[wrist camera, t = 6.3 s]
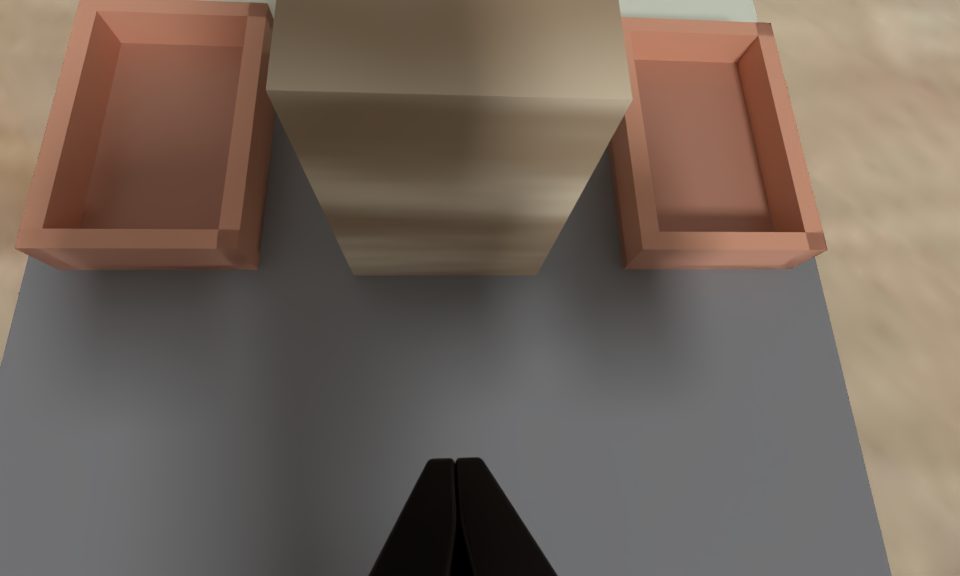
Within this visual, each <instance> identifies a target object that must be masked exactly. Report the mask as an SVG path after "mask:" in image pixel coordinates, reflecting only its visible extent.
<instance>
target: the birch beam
mask: <svg viewBox="0 0 960 576" xmlns="http://www.w3.org/2000/svg"><path fill="white" fill-rule="evenodd" d="M266 92H267V94H268V96H269V98H270V100H271V102H272V104H273V107H274V109H275V111H276V113H277V115H278V117H279V119H280V121H281V123H282V125H283V128H284V130H285V132H286V134H287V136H288V138H289V140H290V142H291V144H292V147H293V149H294V151H295V153H296V155H297V157H298V159H299V161H300V163H301V166H302V168H303V170H304V172H305V174H306V176H307V178H308V180H309V182H310V185H311V187H312V189H313V191H314V193H315V195H316V197H317V199H318V201H319V204H320V206H321V208H322V210H323V212H324V214H325V216H326V218H327V220H328V223H329V225H330V227H331V229H332V231H333V233H334V235H335V237H336V239H337V241H338V244H339V246H340V248H341V250H342V252H343V254H344V256H345V258H346V260H347V263H348V265H349V267H350V269H351V271H352V273H353V275H354V276H459V275H537V274H538V272H539V270H540V268H541V266H542V265H543V263H544V261H545V259H546V257H547V255H548V254H549V252H550V250H551V248H552V246H553V244H554V243H555V241H556V239H557V237H558V235H559V233H560V232H561V230H562V228H563V226H564V224H565V222H566V221H567V219H568V217H569V215H570V213H571V211H572V210H573V208H574V206H575V204H576V202H577V200H578V199H579V197H580V195H581V193H582V191H583V190H584V188H585V186H586V184H587V182H588V180H589V179H590V177H591V175H592V173H593V171H594V169H595V168H596V166H597V164H598V162H599V160H600V158H601V157H602V155H603V153H604V151H605V149H606V147H607V146H608V144H609V142H610V140H611V138H612V136H613V135H614V133H615V131H616V129H617V127H618V125H619V124H620V122H621V120H622V118H623V116H624V115H625V113H626V111H627V109H628V107H629V105H630V104H631V102H632V100H633V99H632V92H631V85H630V78H629V71H628V64H627V56H626V49H625V42H624V35H623V28H622V21H621V14H620V7H619V0H276V6H275V15H274V23H273V32H272V40H271V49H270V57H269V66H268V74H267V83H266Z"/></svg>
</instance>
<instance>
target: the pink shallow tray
mask: <svg viewBox="0 0 960 576" xmlns="http://www.w3.org/2000/svg"><path fill="white" fill-rule="evenodd" d="M621 21H622V28H623V35H624V42H625V49H626V56H627V64H628V71H629V78H630V85H631V92H632V99H633V100H632V102H631V104H630V105H629V107H628V109H627V111H626V113H625V115H624V116H623V118H622V120H621V122H620V124H619V125H618V127H617V129H616V131H615V133H614V135H613V136H612V138H611V140H610V142H609V144H608V147H609V156H610V164H611V173H612V181H613V189H614V198H615V206H616V214H617V223H618V231H619V239H620V248H621V256H622V264H623V269H792V268H794V267H796V266H798V265H800V264H802V263H804V262H805V261H807V260H809V259H811V258H813V257H815V256H817V255H819V254H821V253H822V252H824V251H826V250H827V246H826V242H825V238H824V234H823V230H822V226H821V222H820V218H819V214H818V210H817V206H816V202H815V198H814V194H813V190H812V186H811V182H810V178H809V174H808V170H807V166H806V162H805V158H804V154H803V150H802V146H801V142H800V138H799V134H798V130H797V126H796V122H795V118H794V114H793V110H792V106H791V102H790V98H789V94H788V90H787V86H786V82H785V78H784V74H783V70H782V66H781V62H780V58H779V54H778V50H777V46H776V42H775V38H774V34H773V30H772V26H771V23H759V22H734V21H709V20H683V19H658V18H633V17H621Z"/></svg>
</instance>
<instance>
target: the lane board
mask: <svg viewBox="0 0 960 576" xmlns="http://www.w3.org/2000/svg"><path fill="white" fill-rule="evenodd" d="M201 1H227V2H252V3H268V5H269V8H270V11H271V13H272V16H273V19H274V15H275V6H276V0H201ZM619 7H620V14H621V17H633V18H658V19H683V20H709V21H734V22H758V20H757V16H756V12H755V8H754V4H753V0H619ZM464 457H479V458H481V459H482V460H483V461H484V462H485V464H486V465H487V467H488V468H489V470H490V471H491V473H492V474H493V476H494V478H495V479H496V481H497V482H498V484H499V485H500V487H501V488H502V490H503V491H504V493H505V495H506V496H507V498H508V499H509V501H510V502H511V504H512V505H513V507H514V508H515V510H516V512H517V513H518V515H519V516H520V518H521V519H522V521H523V522H524V524H525V525H526V527H527V528H528V530H529V532H530V533H531V535H532V536H533V538H534V539H535V541H536V542H537V544H538V545H539V547H540V549H541V550H542V552H543V553H544V555H545V556H546V558H547V559H548V561H549V562H550V564H551V566H552V567H553V569H554V570H555V572H556V573H557V575H558V576H891V571H890V567H889V563H888V559H887V555H886V551H885V547H884V542H883V538H882V534H881V530H880V526H879V522H878V518H877V513H876V509H875V505H874V501H873V497H872V493H871V488H870V484H869V480H868V476H867V472H866V468H865V464H864V459H863V455H862V451H861V447H860V443H859V439H858V435H857V430H856V426H855V422H854V418H853V414H852V410H851V406H850V401H849V397H848V393H847V389H846V385H845V381H844V377H843V372H842V368H841V364H840V360H839V356H838V352H837V348H836V343H835V339H834V335H833V331H832V327H831V323H830V319H829V314H828V310H827V306H826V302H825V298H824V294H823V290H822V285H821V281H820V277H819V273H818V269H817V265H816V261H815V257H813V258H811V259H809V260H807V261H805V262H804V263H802V264H800V265H798V266H796V267H794V268H792V269H623V264H622V256H621V248H620V239H619V231H618V223H617V214H616V206H615V198H614V189H613V181H612V173H611V164H610V156H609V147H608V146H607V147H606V149H605V151H604V153H603V155H602V157H601V158H600V160H599V162H598V164H597V166H596V168H595V169H594V171H593V173H592V175H591V177H590V179H589V180H588V182H587V184H586V186H585V188H584V190H583V191H582V193H581V195H580V197H579V199H578V200H577V202H576V204H575V206H574V208H573V210H572V211H571V213H570V215H569V217H568V219H567V221H566V222H565V224H564V226H563V228H562V230H561V232H560V233H559V235H558V237H557V239H556V241H555V243H554V244H553V246H552V248H551V250H550V252H549V254H548V255H547V257H546V259H545V261H544V263H543V265H542V266H541V268H540V270H539V272H538V274H537V275H459V276H354V275H353V273H352V271H351V269H350V267H349V265H348V263H347V260H346V258H345V256H344V254H343V252H342V250H341V248H340V246H339V244H338V241H337V239H336V237H335V235H334V233H333V231H332V229H331V227H330V225H329V223H328V220H327V218H326V216H325V214H324V212H323V210H322V208H321V206H320V204H319V201H318V199H317V197H316V195H315V193H314V191H313V189H312V187H311V185H310V182H309V180H308V178H307V176H306V174H305V172H304V170H303V168H302V166H301V163H300V161H299V159H298V157H297V155H296V153H295V151H294V149H293V147H292V144H291V142H290V140H289V138H288V136H287V134H286V132H285V130H284V128H283V125H282V123H281V121H280V119H279V117H278V115H277V113H276V111H275V119H274V129H273V138H272V147H271V156H270V166H269V175H268V184H267V193H266V203H265V212H264V221H263V230H262V240H261V249H260V258H259V267H258V270H58V269H56V268H54V267H52V266H50V265H48V264H46V263H44V262H42V261H40V260H38V259H36V258H33V257H31V256H29V257H28V261H27V265H26V269H25V273H24V277H23V280H22V284H21V288H20V292H19V296H18V300H17V304H16V308H15V312H14V316H13V320H12V324H11V328H10V332H9V336H8V340H7V344H6V347H5V351H4V355H3V359H2V363H1V367H0V576H368V575H369V573H370V571H371V569H372V567H373V565H374V563H375V561H376V559H377V557H378V555H379V554H380V552H381V550H382V548H383V546H384V544H385V542H386V540H387V538H388V536H389V534H390V532H391V530H392V528H393V526H394V525H395V523H396V521H397V519H398V517H399V515H400V513H401V511H402V509H403V507H404V505H405V503H406V501H407V499H408V497H409V496H410V494H411V492H412V490H413V488H414V486H415V484H416V482H417V480H418V478H419V476H420V474H421V472H422V470H423V469H424V467H425V465H426V463H427V462H428V460H430V459H433V458H452V459H454V461H456V459H458V458H464Z"/></svg>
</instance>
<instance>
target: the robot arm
mask: <svg viewBox="0 0 960 576" xmlns="http://www.w3.org/2000/svg"><path fill="white" fill-rule="evenodd" d="M368 576H558V575H557V573H556V572H555V570H554V569H553V567H552V566H551V564H550V562H549V561H548V559H547V558H546V556H545V555H544V553H543V552H542V550H541V549H540V547H539V545H538V544H537V542H536V541H535V539H534V538H533V536H532V535H531V533H530V532H529V530H528V528H527V527H526V525H525V524H524V522H523V521H522V519H521V518H520V516H519V515H518V513H517V512H516V510H515V508H514V507H513V505H512V504H511V502H510V501H509V499H508V498H507V496H506V495H505V493H504V491H503V490H502V488H501V487H500V485H499V484H498V482H497V481H496V479H495V478H494V476H493V474H492V473H491V471H490V470H489V468H488V467H487V465H486V464H485V462H484V461H483V460H482V459H481V458H479V457H464V458H458V459H456V461H454V459H452V458H433V459H430V460H428V462H427V463H426V465H425V467H424V469H423V470H422V472H421V474H420V476H419V478H418V480H417V482H416V484H415V486H414V488H413V490H412V492H411V494H410V496H409V497H408V499H407V501H406V503H405V505H404V507H403V509H402V511H401V513H400V515H399V517H398V519H397V521H396V523H395V525H394V526H393V528H392V530H391V532H390V534H389V536H388V538H387V540H386V542H385V544H384V546H383V548H382V550H381V552H380V554H379V555H378V557H377V559H376V561H375V563H374V565H373V567H372V569H371V571H370V573H369V575H368Z"/></svg>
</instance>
